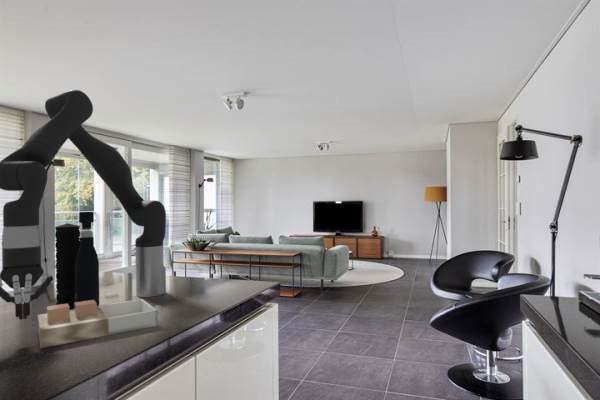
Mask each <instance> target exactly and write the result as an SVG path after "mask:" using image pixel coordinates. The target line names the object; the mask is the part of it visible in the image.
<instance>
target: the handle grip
mask: <svg viewBox="0 0 600 400" xmlns="http://www.w3.org/2000/svg"><path fill="white" fill-rule="evenodd" d="M80 227H81V226H80V225H78V224H72V223H68V222H67V223H64V224H61V225H57V226H54V228H55V233H54V235H55V246H54V247H55V252H56V253H55V259H56V260H55V262H56V263H55V269H56V270H55V272H56V274H55V279H56V280H55V281H56V285H55V287H56V288H55V289H56V297H55V298H56V303H55V305H60V304H67V303H68V305H69V309H70V310H73V309H75V308H74V303H75V261H76V257H77V253H78V250H79V248H80V237H81V236H80V235H81V231H80Z"/></svg>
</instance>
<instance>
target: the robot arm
mask: <svg viewBox="0 0 600 400" xmlns="http://www.w3.org/2000/svg"><path fill="white" fill-rule="evenodd" d="M44 109H45V111H46V115H48V117H49V121H47V122H45V123H44V124H43V125H41V126H40V127H39V128H38V129H37V130H36V131H34V132H33V133H32V134H31V135H30V136H29V138H27V140H25V142H24V144H23V145H22V146H21V147H20V148H18V149H16V150H15V151H14V152H11V153H10V154H9V155H7V156H6V157H4V158H3V159H2V160H1V161H0V190H3V191H7V192H10V191H11V192H12V191H13V192H17V191H18V192H20V191H21V193H22V194H21V196H20V197H19V198H18V199H16V200H11V201H8V202H6V203H5V204H4V205H3V211H2V218H3V219H2V221H3V222H2V224H3V225H2V226H3V227H2V234H1V246H2V247H1V252H2V254H1V255H2V257H1V260H2V265H1V267H2V268H1V271H0V297H1V299H2V300H3V301H5V302H6V303H12V304H14V305H15V310H14V311H15V317H16V318H18V320H26V319H27V317H29V316H30V315H31V302H32V301H33V300H37V299H39V298H40V297H41V295H42V294H43V293H44V291H45V290H47V288H48V287H49V285H50V284H51V283H52V282H53V280H54V276H53V275H50V274H48V273H46V272H45V271H44V268H43V266H42V250H41V249H42V247H41V246H42V236H41V230H40V207H41V204H42V199H43V197H44V194H45V190H46V186H47V182H48V172H47V169H46V168H47V167H48V166H50V164H51V163H52V161H53V160H54V158H55V157H56V155H57V154H58V152H59V151H60V150H61V148H62V147H63V145H65V143H66V142H67V141H68V140H69V141H71V143H72V144H73V145H74V146H75V148H77V149H78V151H79V152H80V153H81V154H82V156H83V157H84V158H85V159H86V161H87V162H88V163H89V164H90V166H91V167H92V168H93V170H94V171H95V172H96V174H97V175H98V176H99V177H100V179H101V180H102V181H103V182H104V183H105V185H107V187H108V188H109V190H110V191H111V192H112V194H113V195H114V196H115V197H116V199H117V200H118V202H120V204H121V206H122V208H123V209H124V210H125V212H126V215H127V216H128V217H129V219H130V220H131V221H132V223H133V224H134V225H136V226H139V227H143V231H142V234H141V235H140V236H138V237H137V238H136V239H135V243H134V244H135V276H136V277H135V286H136V287H135V290H136V291H135V292H136V297H138V298H152V297H157V296H158V297H159V296H162V295H166V294H167V283H166V282H167V280H166V278H167V274H166V266H164V265H165V263H164V262H165V261H164V258H165V257H164V240H165V238H166V226H167V225H166V224H167V212H166V211H167V210H166V208H165V205H163V203H162V202H161V201H160V200H155V199H154V200H152V199H151V200H145V199H144V198H143V197H142V196H141V195H140V193H138V192H137V189H135V186H134V184H133V176H132V172H131V169H130V168H131V167H130V166H129V164H128V163H127V161H126V160H125V159H124V157H123V156H122V155H121V153H120V152H119V151H118V150H117V149H116V148H115V147H113V146H112V145H110V144H108V143H106V142H104V141H102V140H100V139H98V138H97V137H95V136H94V135H92V134H91V133H90V132H88V131H87V130H86V129H85V128H84V127H83V126H82V125H83V124H85V122H87V120H89V119H90V118H91V117H92V115H93V113H94V107H93V103H92V100H91V99H90V97H89V96H88V95H87V94H86V93H85V92H83V91H81V90H80V89H71V90H66V91H65V92H62V93H60V94H57V95H53V96H51V97H50V98H48V99H46V101H45V104H44ZM39 279H40V281H41V282H40V285H39V286H38V287H37V288H36V290H35V291H34V292H33V293H31V292H32V290H31V289H32V287H34V285H36V284H37V282H38V281H39ZM3 282H4V283H5V284H6V285H7V286H8V287H9V288H10V289H12V290H13V295H11V294H10V293H9V292H8V291H6V289H4V288H3V285H4V284H3ZM22 288H23V290H24V291H23V292H24V294H23V299H22V293H21V289H22ZM22 300H23V301H22Z"/></svg>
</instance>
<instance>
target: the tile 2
mask: <svg viewBox="0 0 600 400" xmlns="http://www.w3.org/2000/svg"><path fill="white" fill-rule="evenodd" d="M74 308H75V316H76V318H81V317H87V316H93V315H97V303H96V302H95V300H89V301H82V302H75V303H74Z"/></svg>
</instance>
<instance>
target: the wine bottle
mask: <svg viewBox="0 0 600 400" xmlns="http://www.w3.org/2000/svg"><path fill="white" fill-rule="evenodd" d="M78 217H79V218H78V222H79V223H80V224H81V231H80V237H79V238H80V240H79V241H80V248H79V250H78V253H77V257H76V261H75V302H82V301H89V300H95V302H96V303H97V306H99V305H100V261H99V258H98V252H97V250H96V248H95V244H94V243H95V241H94V240H95V239H94V236H93V233H94V232H93V230H92V223H94V222H95V221H94V218H95V217H94V211H79V212H78Z"/></svg>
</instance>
